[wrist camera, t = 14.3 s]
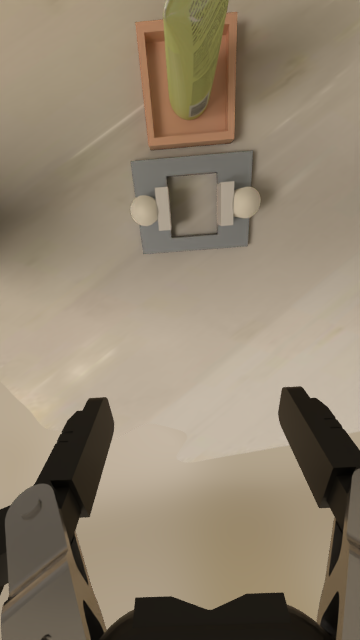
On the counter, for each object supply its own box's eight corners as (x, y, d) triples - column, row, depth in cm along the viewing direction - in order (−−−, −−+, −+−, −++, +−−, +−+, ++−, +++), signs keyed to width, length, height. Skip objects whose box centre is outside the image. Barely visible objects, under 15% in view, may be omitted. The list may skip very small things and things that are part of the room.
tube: (164, 64, 27) (138, -193, 10) (207, 55, 27) (263, -227, 9) (172, 125, 30) (163, 10, 12) (212, 117, 29) (262, -12, 12)
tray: (150, 150, 31) (148, 146, 29) (138, 37, 27) (135, 22, 24) (230, 143, 31) (234, 138, 29) (232, 27, 26) (237, 11, 24)
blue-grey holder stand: (142, 252, 37) (137, 259, 33) (130, 162, 32) (122, 155, 27) (247, 244, 37) (257, 250, 32) (252, 152, 31) (264, 143, 27)
